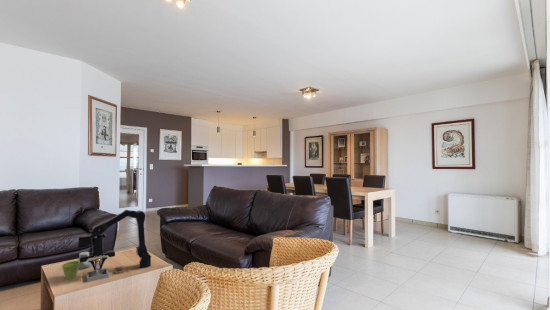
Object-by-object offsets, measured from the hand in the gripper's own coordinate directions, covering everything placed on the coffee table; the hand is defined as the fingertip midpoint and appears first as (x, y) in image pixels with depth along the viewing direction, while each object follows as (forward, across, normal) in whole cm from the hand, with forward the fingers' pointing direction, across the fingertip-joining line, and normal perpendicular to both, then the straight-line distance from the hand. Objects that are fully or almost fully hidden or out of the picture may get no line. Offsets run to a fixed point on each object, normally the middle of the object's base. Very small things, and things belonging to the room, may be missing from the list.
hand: (97, 269), depth 172 cm
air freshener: (+6, +7, -27) cm, 28 cm away
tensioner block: (+5, -12, -2) cm, 13 cm away
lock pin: (+2, 0, 0) cm, 2 cm away
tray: (+5, 0, 0) cm, 5 cm away
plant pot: (+6, +14, -12) cm, 19 cm away
